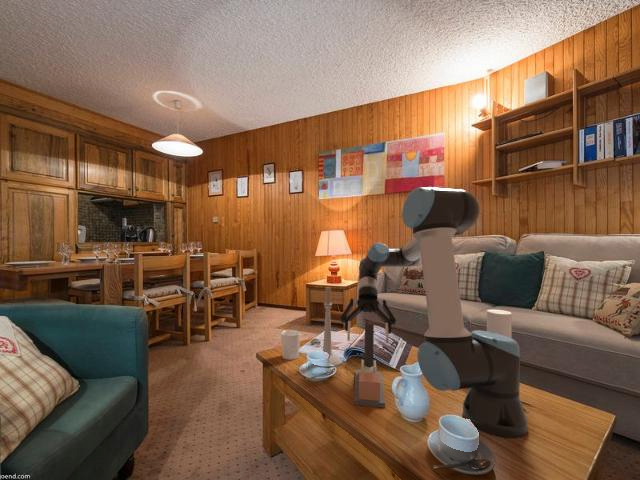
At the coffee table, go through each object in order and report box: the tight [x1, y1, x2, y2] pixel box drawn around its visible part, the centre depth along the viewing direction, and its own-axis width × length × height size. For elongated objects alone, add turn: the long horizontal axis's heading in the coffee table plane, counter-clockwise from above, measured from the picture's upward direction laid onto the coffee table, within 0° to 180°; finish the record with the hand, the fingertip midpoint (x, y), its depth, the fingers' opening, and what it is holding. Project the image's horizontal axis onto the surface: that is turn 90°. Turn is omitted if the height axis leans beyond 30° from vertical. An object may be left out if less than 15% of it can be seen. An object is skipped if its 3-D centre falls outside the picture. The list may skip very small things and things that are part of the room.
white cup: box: [280, 329, 301, 360], centre depth 125 cm, size 8×8×10 cm
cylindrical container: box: [486, 308, 513, 338], centre depth 101 cm, size 7×7×25 cm
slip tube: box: [364, 323, 375, 373], centre depth 102 cm, size 12×3×17 cm, turn 172°
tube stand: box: [353, 359, 386, 408], centre depth 99 cm, size 22×9×6 cm, turn 172°
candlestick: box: [322, 286, 344, 367], centre depth 121 cm, size 13×13×30 cm
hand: (367, 340), depth 107 cm, fingers open, 13 cm apart
